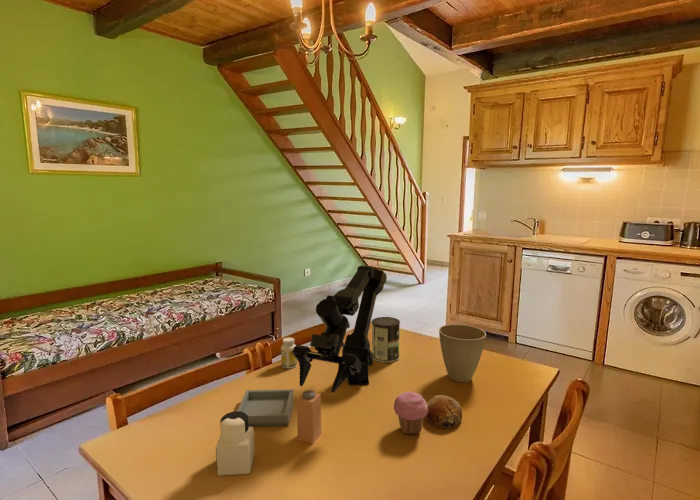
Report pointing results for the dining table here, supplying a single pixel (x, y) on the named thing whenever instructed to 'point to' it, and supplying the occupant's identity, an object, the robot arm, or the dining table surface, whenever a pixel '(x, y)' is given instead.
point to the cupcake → (410, 411)
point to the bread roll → (444, 411)
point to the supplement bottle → (288, 353)
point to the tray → (267, 407)
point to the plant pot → (461, 350)
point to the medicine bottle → (235, 445)
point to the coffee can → (385, 339)
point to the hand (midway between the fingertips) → (316, 389)
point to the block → (309, 416)
